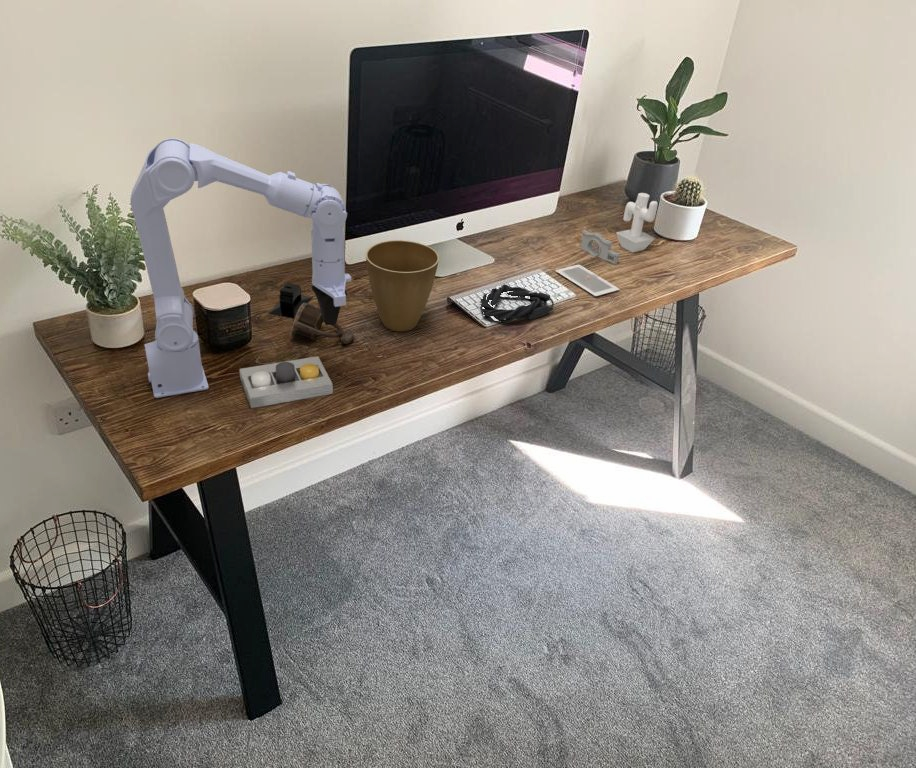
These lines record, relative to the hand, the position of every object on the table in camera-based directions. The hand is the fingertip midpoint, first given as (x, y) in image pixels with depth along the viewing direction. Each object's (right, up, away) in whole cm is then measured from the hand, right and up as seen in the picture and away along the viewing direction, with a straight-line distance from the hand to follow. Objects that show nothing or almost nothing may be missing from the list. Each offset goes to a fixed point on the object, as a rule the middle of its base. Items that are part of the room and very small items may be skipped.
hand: (330, 322), depth 150 cm
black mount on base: (-13, +5, +26) cm, 30 cm away
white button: (-12, -12, -2) cm, 18 cm away
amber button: (-4, -11, +2) cm, 12 cm away
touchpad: (+55, +13, +46) cm, 73 cm away
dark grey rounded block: (-8, -11, -1) cm, 13 cm away
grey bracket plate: (+60, +21, +58) cm, 86 cm away
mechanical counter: (-4, -2, +15) cm, 16 cm away
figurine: (+70, +25, +64) cm, 98 cm away
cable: (+36, +5, +32) cm, 48 cm away
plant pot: (+12, +1, +23) cm, 25 cm away
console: (-8, -12, 0) cm, 14 cm away
